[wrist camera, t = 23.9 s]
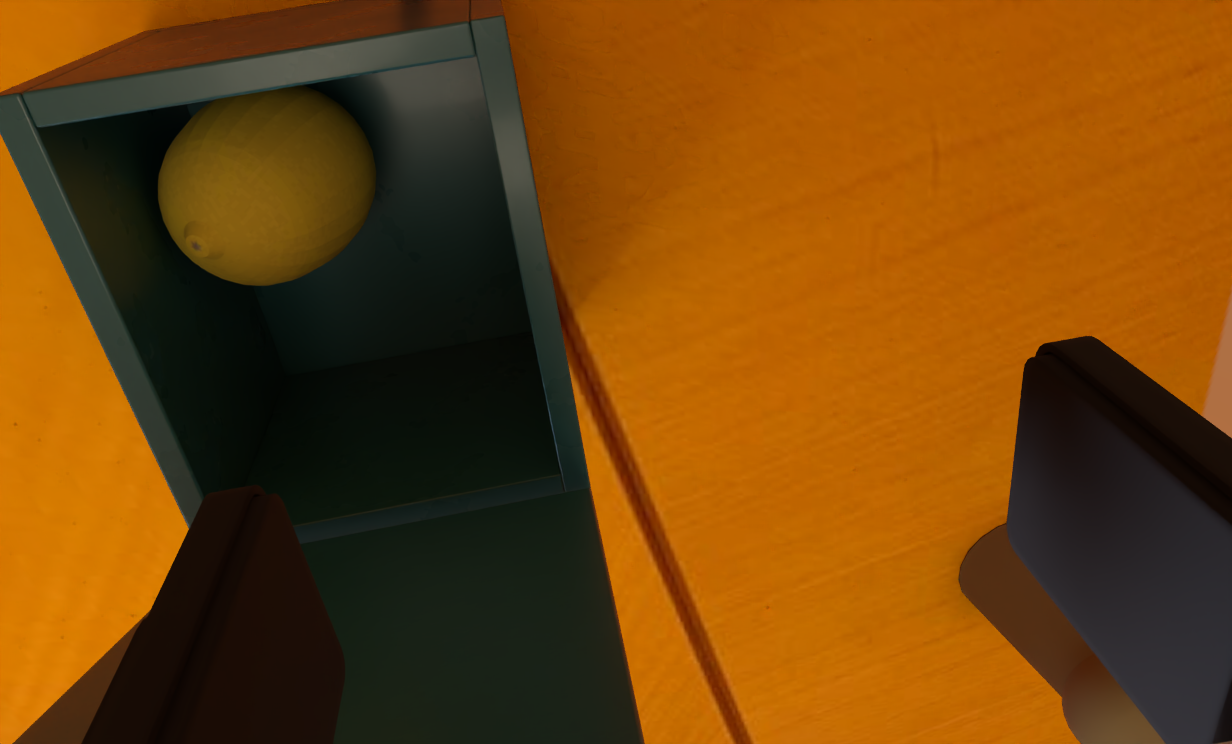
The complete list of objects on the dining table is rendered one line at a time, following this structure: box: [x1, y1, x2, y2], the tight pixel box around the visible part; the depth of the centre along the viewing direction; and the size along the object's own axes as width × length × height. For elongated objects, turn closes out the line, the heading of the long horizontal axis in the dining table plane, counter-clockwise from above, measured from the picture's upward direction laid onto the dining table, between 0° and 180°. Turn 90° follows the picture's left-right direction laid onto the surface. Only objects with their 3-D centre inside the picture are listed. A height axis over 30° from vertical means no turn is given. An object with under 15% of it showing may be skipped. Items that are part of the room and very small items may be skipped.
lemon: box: [158, 85, 376, 286], centre depth 27 cm, size 6×6×8 cm
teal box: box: [0, 0, 591, 544], centre depth 28 cm, size 14×12×11 cm
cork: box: [959, 524, 1166, 744], centre depth 41 cm, size 6×6×11 cm
